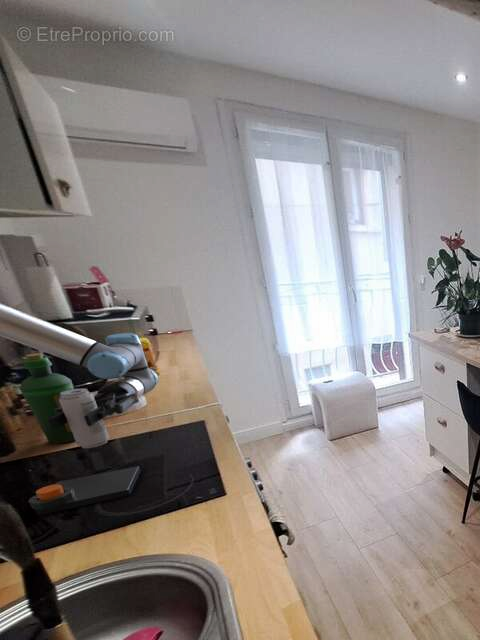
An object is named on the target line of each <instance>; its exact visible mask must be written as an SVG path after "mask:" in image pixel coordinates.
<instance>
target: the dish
mask: <svg viewBox="0 0 480 640" xmlns="http://www.w3.org/2000/svg"><path fill="white" fill-rule="evenodd" d="M98 391H99V390H96V391H92V392H90V393H91V394H93V396H95V395H97V393H98ZM138 399H139V402H138V403H135V404H133V405H132V406H131V407H129V408H128V409H127V410H126V411H124V412H123V413H121V414H117V412H116V413H114V414H113V415H108V416H106V417H105V418H103V419H102V420H105V419H110V418H115V417H120V416H123V415H127V414H130V413H133V412H135V411H136V412H137V411H138V410H140V409H142V408H144V407H145V406H147V400H146V397H145V395H143V396H141V397H140V398H138ZM104 409H105V408H104Z"/></svg>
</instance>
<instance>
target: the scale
mask: <svg viewBox="0 0 480 640" xmlns="http://www.w3.org/2000/svg"><path fill="white" fill-rule="evenodd" d="M141 472H142V471H141V468H140V466H139V465H137V466H132V467H127V468H122V469H116V470H111V471H106V472H101V473H95V474H90V475H86V476H82V477H81V476H80V477H76V478H71V479H66V480H60V481H56V482H55V484H59V485H61V486H62V489H63V491H64V494H62V495H60V496H58V497H55V498H52V499H48V500H39V498H38V496H37V494H35V495H34V496H31V497H30V499H29V500H28V504H29V505H30V507H31V508H32V509H33V510H34V511H35V512H36V515H37V516H43V515H47V514H51V513H52V514H53V513H56V512H61V511H65V510H69V509H75V508H78V507H83V506H88V505H93V504H97V503H100V502H106V501H109V500H115V499H119V498H123V497H128V496H131V493H132V491H133V489H134V487H135V485H136V483H137V480H138V478H139V476H140V474H141Z"/></svg>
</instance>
